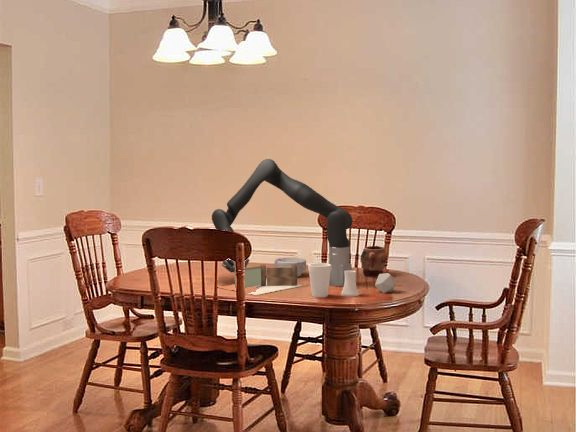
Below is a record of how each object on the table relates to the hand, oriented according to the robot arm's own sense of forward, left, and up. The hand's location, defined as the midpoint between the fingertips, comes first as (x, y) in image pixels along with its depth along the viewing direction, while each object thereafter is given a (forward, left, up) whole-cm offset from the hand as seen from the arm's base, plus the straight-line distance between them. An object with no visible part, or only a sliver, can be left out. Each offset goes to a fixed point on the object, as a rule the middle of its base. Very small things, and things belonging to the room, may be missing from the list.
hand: (240, 278), depth 301 cm
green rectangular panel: (-2, -3, -4) cm, 5 cm away
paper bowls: (+7, -38, -5) cm, 39 cm away
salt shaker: (-43, -23, -5) cm, 49 cm away
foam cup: (-35, -13, -5) cm, 37 cm away
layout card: (-2, -9, -5) cm, 10 cm away
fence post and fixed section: (-8, -16, -4) cm, 18 cm away
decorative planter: (-23, -64, -5) cm, 68 cm away
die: (-50, -38, -5) cm, 63 cm away
